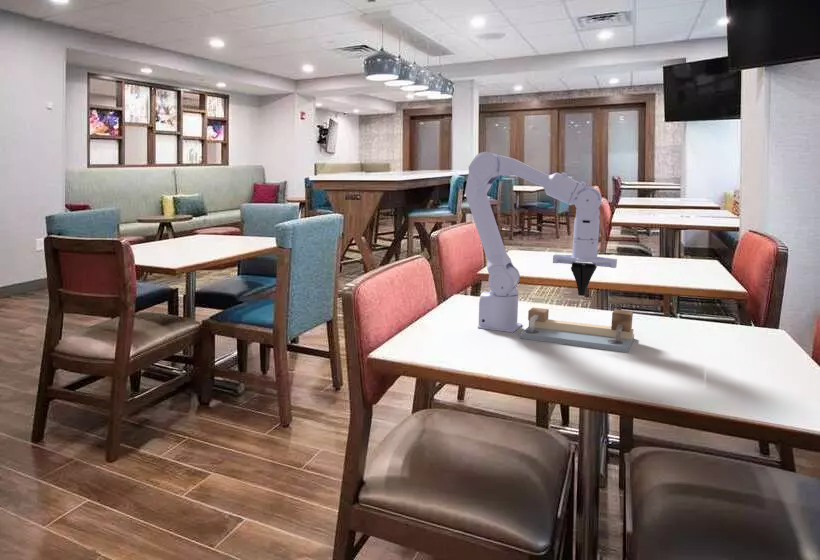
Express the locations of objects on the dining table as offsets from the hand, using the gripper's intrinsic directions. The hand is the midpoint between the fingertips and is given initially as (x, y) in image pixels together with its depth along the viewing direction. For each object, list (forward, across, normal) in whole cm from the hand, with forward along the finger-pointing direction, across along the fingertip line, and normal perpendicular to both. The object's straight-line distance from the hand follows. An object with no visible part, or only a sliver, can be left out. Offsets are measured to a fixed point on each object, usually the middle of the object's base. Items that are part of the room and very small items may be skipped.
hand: (582, 294), depth 138 cm
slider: (+8, +10, -4) cm, 13 cm away
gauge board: (+10, 0, -4) cm, 11 cm away
